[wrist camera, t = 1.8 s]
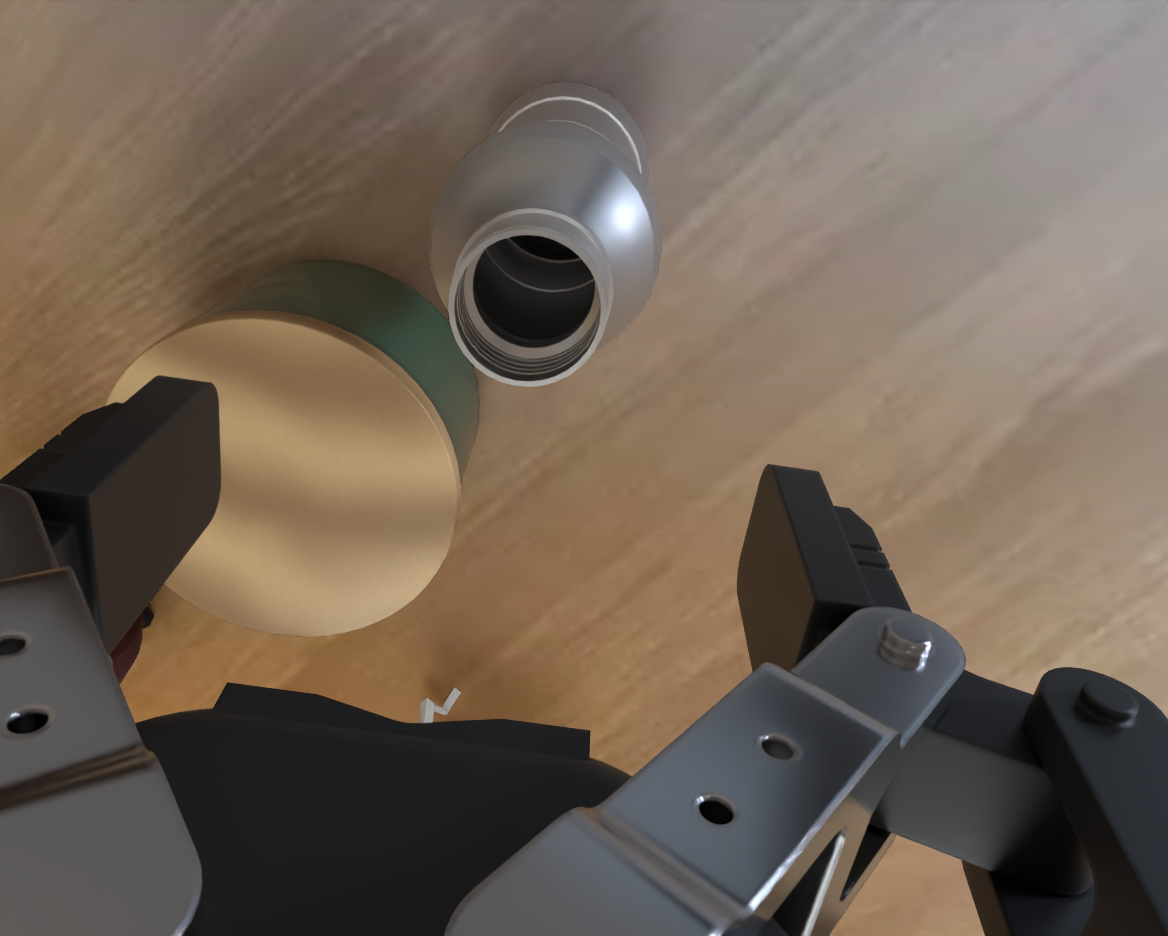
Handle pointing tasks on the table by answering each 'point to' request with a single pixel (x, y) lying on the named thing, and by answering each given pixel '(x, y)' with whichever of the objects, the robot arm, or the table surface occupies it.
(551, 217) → the silver metal bottle
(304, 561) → the crock
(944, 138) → the table surface
